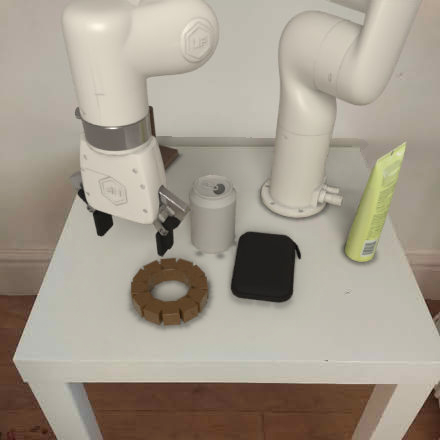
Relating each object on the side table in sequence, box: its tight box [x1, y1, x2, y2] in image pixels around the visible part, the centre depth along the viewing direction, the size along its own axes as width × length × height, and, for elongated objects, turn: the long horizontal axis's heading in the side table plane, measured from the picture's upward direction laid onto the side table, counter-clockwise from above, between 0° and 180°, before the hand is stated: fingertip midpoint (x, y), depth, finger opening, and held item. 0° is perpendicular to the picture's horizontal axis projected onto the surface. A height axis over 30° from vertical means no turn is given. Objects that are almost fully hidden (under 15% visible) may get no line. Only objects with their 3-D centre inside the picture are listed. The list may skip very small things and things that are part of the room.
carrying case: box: [230, 230, 302, 304], centre depth 73 cm, size 11×3×15 cm
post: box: [149, 105, 179, 171], centre depth 91 cm, size 8×8×12 cm
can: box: [188, 174, 237, 255], centre depth 75 cm, size 8×8×12 cm
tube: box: [344, 141, 408, 263], centre depth 71 cm, size 6×5×20 cm
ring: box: [130, 257, 209, 327], centre depth 70 cm, size 12×12×3 cm
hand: (135, 240), depth 64 cm, fingers open, 9 cm apart
